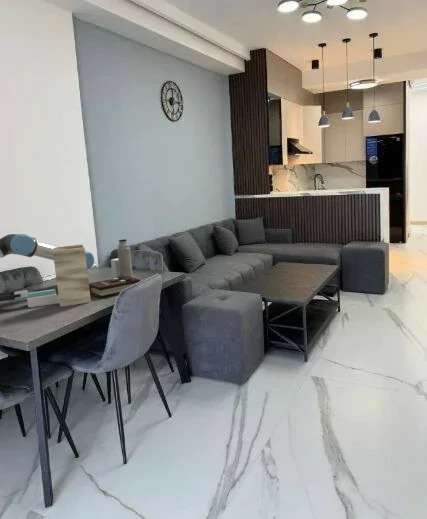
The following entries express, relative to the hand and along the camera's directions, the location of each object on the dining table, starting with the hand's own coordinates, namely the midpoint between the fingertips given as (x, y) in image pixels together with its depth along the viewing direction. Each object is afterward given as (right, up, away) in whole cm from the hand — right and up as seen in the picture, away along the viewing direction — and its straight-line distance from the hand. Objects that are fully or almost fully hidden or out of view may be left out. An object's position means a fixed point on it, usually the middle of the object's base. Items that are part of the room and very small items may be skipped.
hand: (27, 293), depth 240 cm
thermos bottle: (+45, +3, +46) cm, 64 cm away
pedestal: (+25, -5, +2) cm, 26 cm away
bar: (+2, -3, +1) cm, 4 cm away
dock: (+7, -6, +4) cm, 10 cm away
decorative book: (+43, -1, +21) cm, 48 cm away
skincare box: (+39, +4, +53) cm, 66 cm away
